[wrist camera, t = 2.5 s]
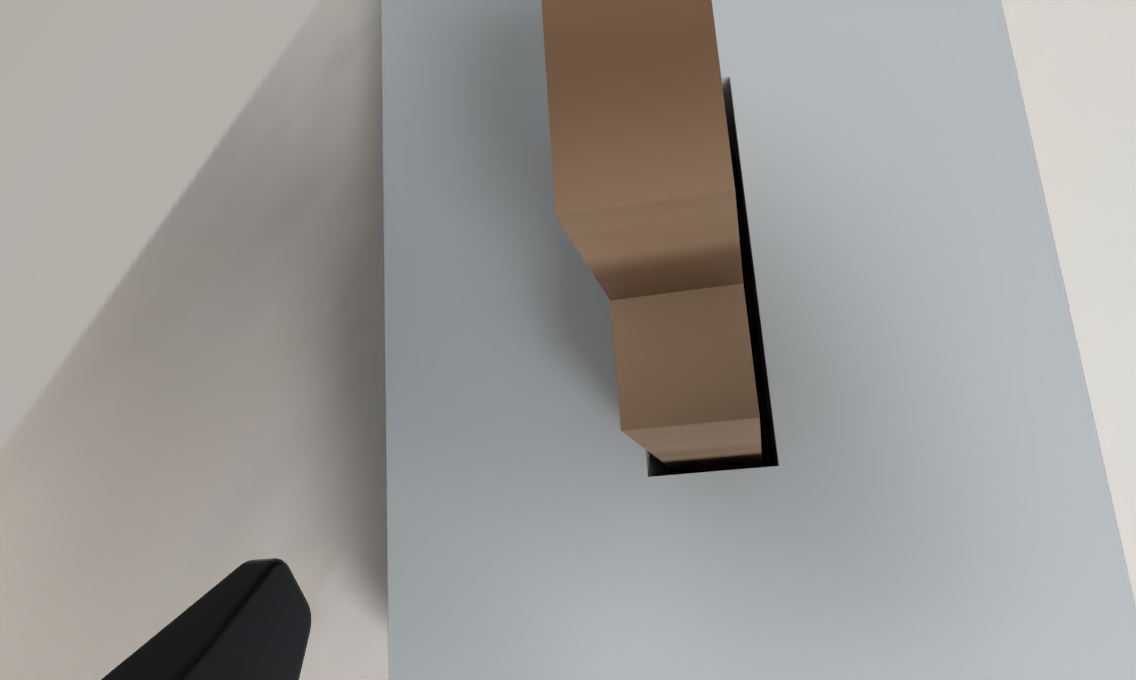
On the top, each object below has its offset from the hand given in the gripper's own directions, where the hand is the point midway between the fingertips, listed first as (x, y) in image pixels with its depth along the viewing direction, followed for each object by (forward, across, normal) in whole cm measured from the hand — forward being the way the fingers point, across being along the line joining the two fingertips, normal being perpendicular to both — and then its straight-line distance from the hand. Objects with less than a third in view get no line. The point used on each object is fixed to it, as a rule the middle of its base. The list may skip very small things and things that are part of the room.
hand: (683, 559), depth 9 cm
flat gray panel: (+13, 0, +4) cm, 13 cm away
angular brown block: (+13, 0, +4) cm, 13 cm away
